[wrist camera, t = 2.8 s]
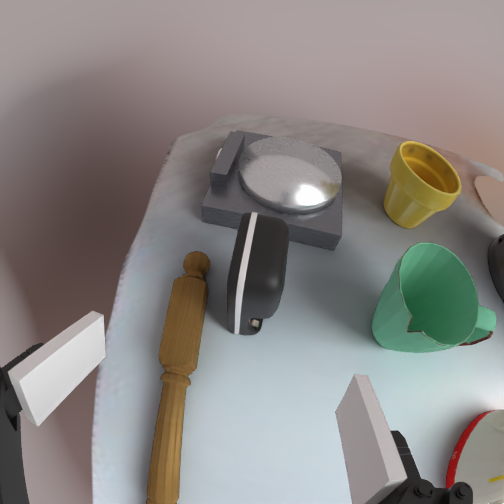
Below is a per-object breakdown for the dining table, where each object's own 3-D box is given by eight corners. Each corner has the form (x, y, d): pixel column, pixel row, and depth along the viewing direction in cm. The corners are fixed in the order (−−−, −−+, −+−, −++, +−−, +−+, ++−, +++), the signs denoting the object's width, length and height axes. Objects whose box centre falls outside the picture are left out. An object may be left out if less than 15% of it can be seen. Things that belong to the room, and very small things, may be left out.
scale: (335, 166, 41) (344, 142, 37) (333, 250, 32) (347, 225, 28) (232, 145, 42) (233, 119, 37) (199, 221, 33) (195, 192, 29)
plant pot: (426, 252, 33) (464, 208, 25) (365, 218, 36) (394, 165, 27) (430, 207, 38) (459, 165, 30) (378, 177, 41) (401, 130, 32)
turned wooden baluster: (140, 533, 12) (183, 244, 28) (149, 523, 15) (187, 259, 31) (174, 542, 12) (212, 247, 28) (179, 530, 15) (213, 262, 31)
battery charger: (266, 342, 26) (288, 296, 16) (227, 335, 26) (224, 285, 16) (274, 279, 30) (295, 208, 20) (239, 273, 30) (244, 200, 20)
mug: (341, 357, 25) (390, 327, 17) (360, 277, 31) (401, 226, 22) (444, 386, 23) (505, 366, 15) (452, 314, 28) (502, 278, 20)
